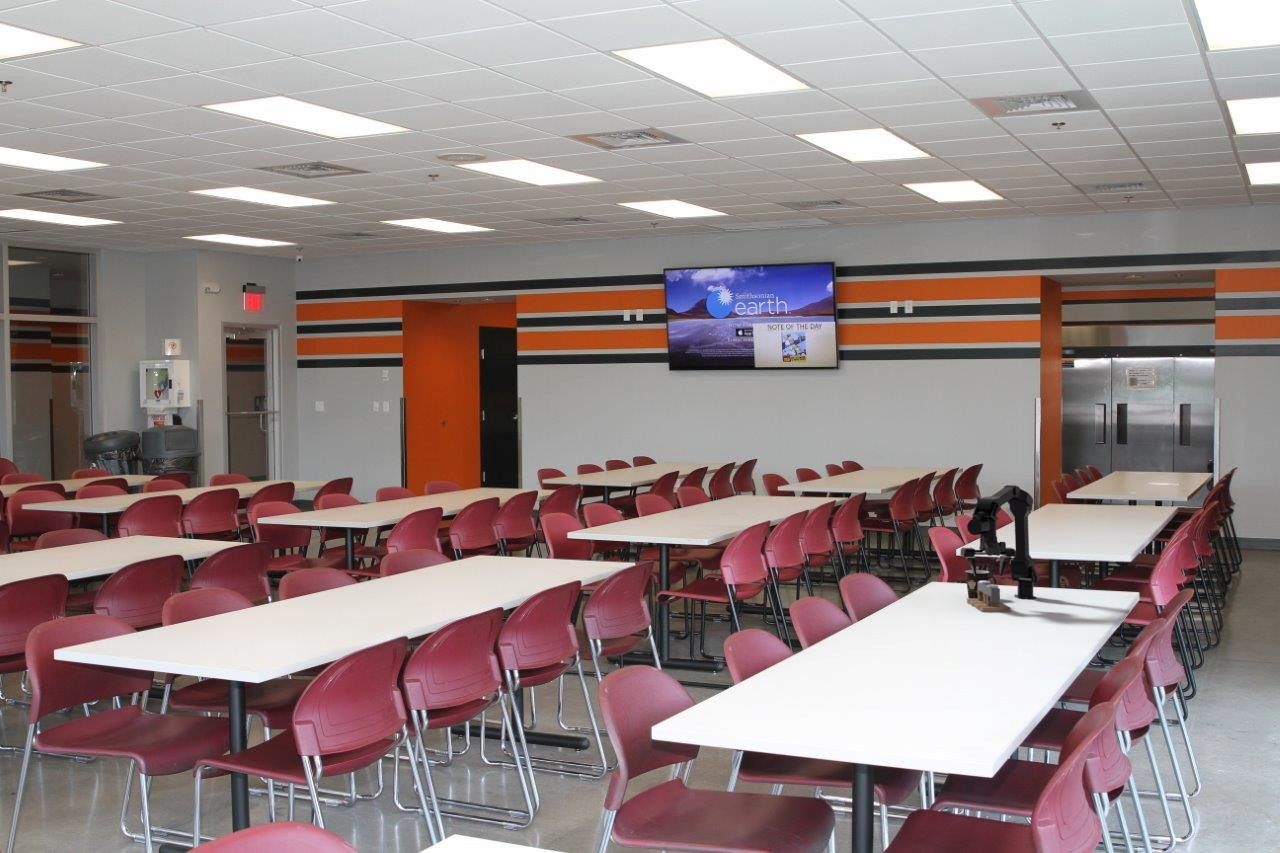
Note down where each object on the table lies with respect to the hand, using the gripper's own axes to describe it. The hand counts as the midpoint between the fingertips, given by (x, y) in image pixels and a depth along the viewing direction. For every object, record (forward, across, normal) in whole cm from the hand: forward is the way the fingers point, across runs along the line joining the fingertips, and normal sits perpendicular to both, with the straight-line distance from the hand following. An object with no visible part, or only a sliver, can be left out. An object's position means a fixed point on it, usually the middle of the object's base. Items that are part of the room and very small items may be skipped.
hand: (988, 576), depth 440 cm
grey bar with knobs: (+8, 0, 0) cm, 8 cm away
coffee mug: (+11, +2, +19) cm, 22 cm away
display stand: (+11, 0, 0) cm, 11 cm away
